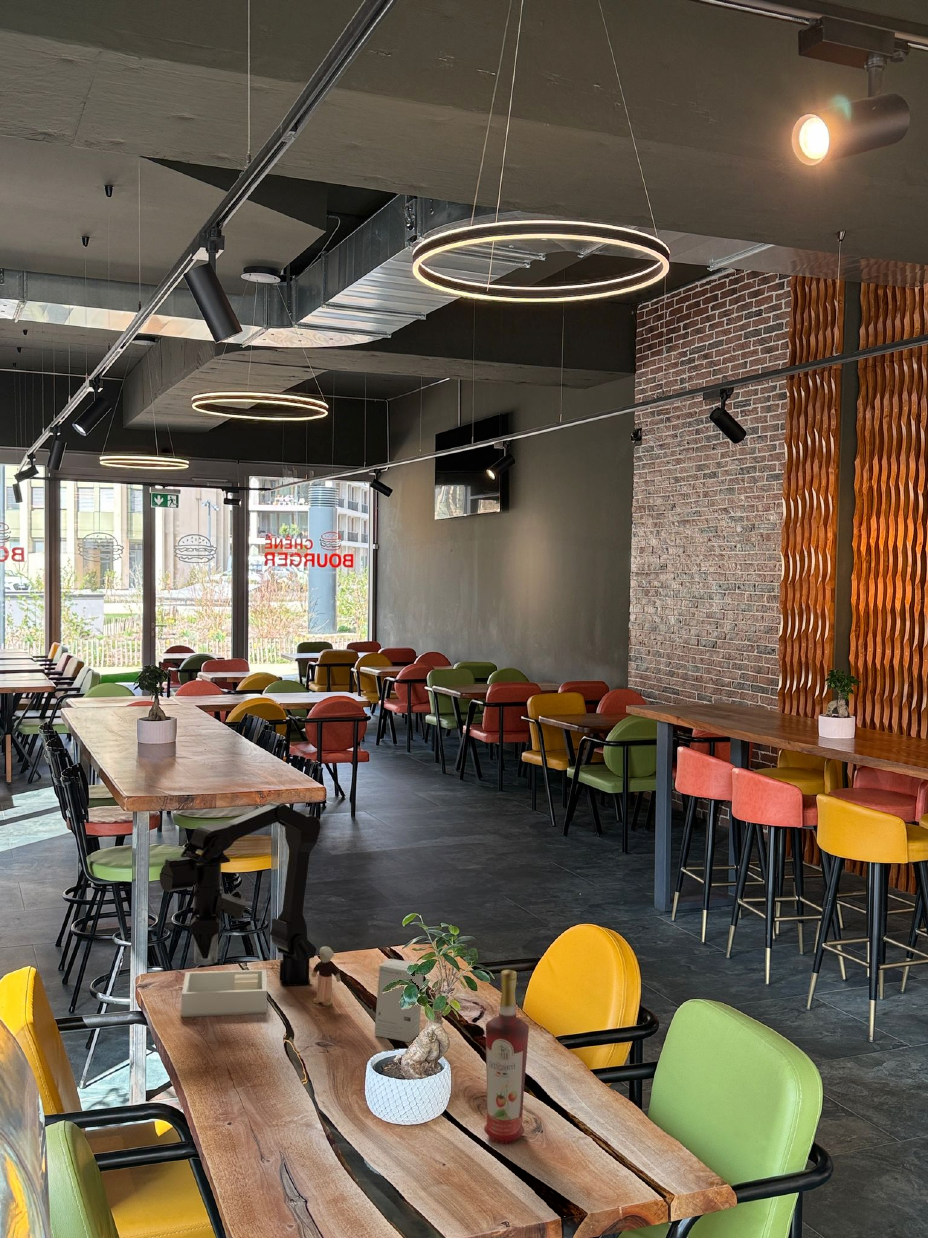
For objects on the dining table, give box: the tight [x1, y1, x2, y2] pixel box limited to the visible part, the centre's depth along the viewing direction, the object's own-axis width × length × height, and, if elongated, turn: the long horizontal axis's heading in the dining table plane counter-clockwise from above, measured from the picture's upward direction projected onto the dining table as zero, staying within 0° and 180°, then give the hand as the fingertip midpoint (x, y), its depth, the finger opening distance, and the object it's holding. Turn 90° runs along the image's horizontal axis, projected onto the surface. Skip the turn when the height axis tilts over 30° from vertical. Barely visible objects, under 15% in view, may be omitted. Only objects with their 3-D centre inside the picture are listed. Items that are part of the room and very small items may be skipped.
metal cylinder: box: [193, 933, 219, 966], centre depth 241 cm, size 5×5×7 cm
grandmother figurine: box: [311, 946, 342, 1006], centre depth 245 cm, size 8×4×13 cm, turn 73°
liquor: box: [483, 969, 530, 1144], centre depth 185 cm, size 7×7×28 cm
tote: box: [180, 969, 268, 1018], centre depth 242 cm, size 18×14×5 cm
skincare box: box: [374, 958, 424, 1043], centre depth 228 cm, size 8×6×15 cm
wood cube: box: [234, 974, 258, 990], centre depth 243 cm, size 5×5×5 cm
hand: (205, 954), depth 241 cm, fingers closed on metal cylinder, 5 cm apart
